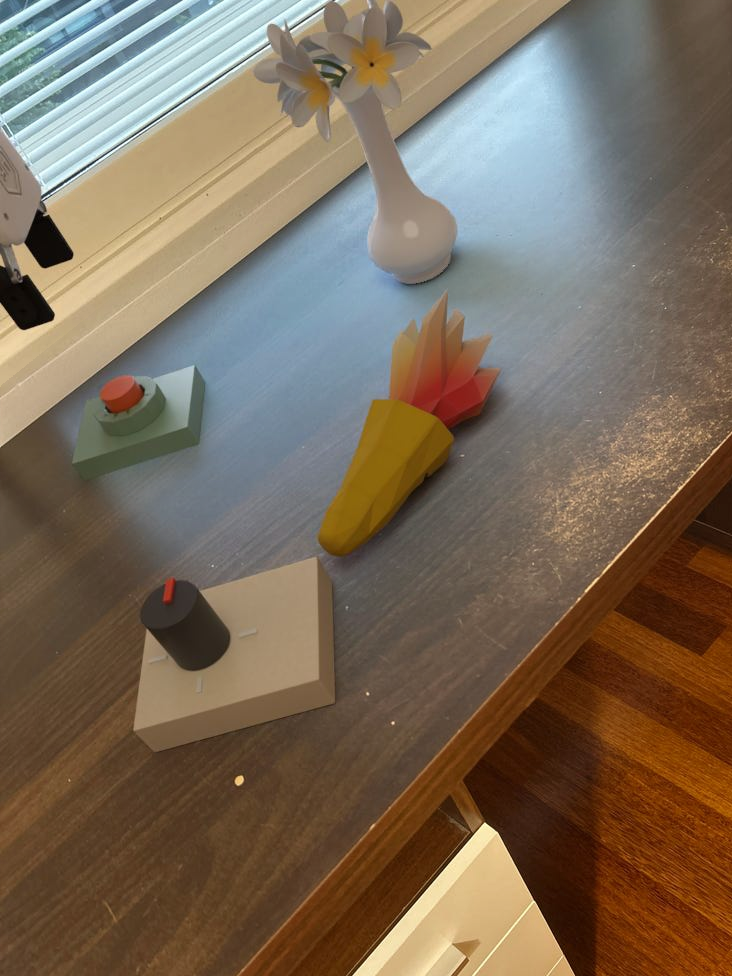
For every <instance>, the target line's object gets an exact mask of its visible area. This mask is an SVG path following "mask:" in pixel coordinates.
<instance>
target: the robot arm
mask: <svg viewBox="0 0 732 976" xmlns="http://www.w3.org/2000/svg"><path fill="white" fill-rule="evenodd" d="M23 244H24V245H25V246H26V247H27V250H28V251H29V252H30V253H31V255H32V256H33V258H34V260H35V261H36V262H37V263H38V266H39V267H40V268H42V269H44V270H45V269H49V268H51V267H55V266H58V265H61V264H63V263H67V262H69V261H72V260H73V258H74V255H75V254H74V251H73V249H72V248H71V247H70V244H69V243H68V241H67V240H66V238H65V237H64V235H63V233H62V232H61V230H60V229H59V227H58V226H57V224H56V223H55V222H54V220H53V218H52V217H51V215H50V214H48V208H47V206H46V203H45V202H44V201H43V200H42V187H41V184H40V183H39V181H38V178H36V176H35V174H34V173H33V172H32V170H31V168H30V167H29V166H28V164H27V163H26V161H25V159H24V158H23V157H22V155H21V154H20V152H19V151H18V150H17V148H16V147H15V145H14V144H13V142H12V141H11V140H10V138H9V137H8V136H7V134H6V132H5V131H4V130H3V128H2V127H1V126H0V256H1V259H2V262H3V265H4V266H3V265H1V264H0V305H1V306H2V307H3V309H4V310H5V311H6V313H7V314H8V315H9V317H10V318H11V319H12V321H13V322H14V324H15V325H16V327H17V328H18V329H19V330H21V331H27V330H30V329H34V328H36V327H39V326H41V325H45V324H48V323H52V322H53V321H54V320H55V316H56V313H55V311H54V310H53V308H52V307H51V306H50V304H49V303H48V302H47V300H46V298H45V297H44V295H43V294H42V293H41V292H40V290H39V288H38V286H37V285H36V284H35V283H34V281H33V280H32V278H31V277H30V276H29V274H25V275H23V274H22V272H21V269H20V266H19V262H18V260H17V257H16V254H15V252H14V248H13V246H20V245H23Z"/></svg>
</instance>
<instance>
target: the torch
mask: <svg viewBox="0 0 732 976" xmlns="http://www.w3.org/2000/svg"><path fill="white" fill-rule="evenodd" d="M448 301H449V288H446V289H445V291H444V292H443V293H442V294H441V296H440V297H439V298H438V300H437V301H436V302H435V303H434V304H433V305H432V307H431V308H430V309H429V311H427V312H426V314H425V315H424V316H423V319H422V322H421V325H420V328H419V329H420V330H419V329H418V326H417V322H416V319H415V317H412V319H411V320H410V322H409V323H408V325H407V326H406V328H405V330H404V331H403V327H402V328H400V330H399V332H398V334H397V336H396V338H395V339H394V341H393V343H392V345H391V346H392V347H391V363H390V376H389V377H390V379H389V391H388V393H389V395H388V399H387V398H385V399H383V398H382V399H379V398H376V399H375V398H374V399H372V400H371V403H370V406H369V409H368V412H367V415H366V418H365V421H364V425H363V428H362V431H361V434H360V437H359V441H358V444H357V447H356V449H355V451H354V454H353V456H352V459H351V462H350V463H349V466H348V468H347V471H346V474H345V476H344V478H343V480H342V483H341V485H340V487H339V489H338V491H337V492H336V495H335V496H334V497H333V499H332V501H331V502H330V504H329V505H328V507H327V508H326V511H325V514H324V516H323V519H322V522H321V524H320V527H319V531H318V533H317V541H318V543H319V545H320V546H321V548H322V549H323V550H324V551H325V552H326V553H328V555H330V556H334V557H340V558H341V557H346V556H348V555H349V554H351V553H352V552H354V551H355V550H357V549H358V548H361V547H362V546H363V545H365V544H366V543H367V542H369V541H370V540H371V539H372V538H373V537H374V536H375V535H377V534H378V533H379V532H380V531H381V530H382V529H384V527H386V526H387V525H388V524H389V523H390V522H391V520H392V519H393V518H394V516H395V515H396V513H397V512H398V511H399V510H400V508H401V507H402V505H403V504H404V503H405V501H406V500H407V499H408V497H409V496H410V495H411V493H412V492H414V491H415V490H416V488H418V487H419V486H420V485H421V484H423V483H424V480H425V477H427V478H429V477H430V476H432V474H434V473H435V472H436V471H438V469H440V468H441V467H442V466H443V465H444V464H445V463H446V462H447V461H448V458H449V456H450V453H451V450H452V447H453V445H454V442H455V436H454V435H453V434H452V432H451V431H450V429H452V428H453V427H455V426H457V425H458V424H460V423H461V422H464V421H465V420H468V419H470V418H473V417H474V418H475V417H476V416H479V415H480V414H481V412H482V410H483V408H484V406H485V405H486V404H485V403H486V402H487V400H488V397H489V395H490V394H491V392H492V389H493V387H494V385H495V383H496V381H497V379H498V377H499V374H500V372H501V370H502V369H503V367H502V366H498V367H497V366H496V367H482V368H481V367H480V366H479V365H480V364H481V363H482V360H483V357H484V356H485V354H486V352H487V349H488V347H489V345H490V343H491V341H492V339H493V337H494V332H493V331H492V332H489V333H486V334H482V335H479V336H476V337H473V338H470V339H465V340H463V338H464V337H463V336H464V329H465V328H464V327H465V321H466V320H465V318H466V315H465V314H464V313H463V312H461V311H460V310H458V309H457V308H454V310H453V312H452V314H451V316H450V318H449V319H448V304H449V303H448ZM447 321H448V322H447Z"/></svg>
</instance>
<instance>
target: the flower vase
mask: <svg viewBox="0 0 732 976" xmlns="http://www.w3.org/2000/svg"><path fill="white" fill-rule="evenodd" d="M366 2H367V6H368V8H366V9H364V10H362V11H360V12H359V13H356V14H354V15H352V17H350V18H349V19H348V16H347V14H346V12H345V10H344V8H343V6H341V4H340V3H338V2H336V1H333V0H331V1H329V2H327V3H326V4H325V7H324V8H323V23H324V26H325V29H326V31H319V32H318V31H316V32H314V33H312V34H310V35H304V36H303V37H302V38H300V39H299V40H298V42H297V43H296V42H295V41H294V38H293V36H292V34H291V31H290V28H289V25H288V23H287V20H286V18H284V21H283V22H284V30H283V29H282V28H281V27H280V26H278V25H277V24H276V23H269V24H268V25H267V26H266V36H267V39H268V42H269V44H270V47H271V49H272V50H273V51H274V53H275V54H276V55H278V57H269V58H266V59H262V60H261V61H259V62H257V63H256V64H255V65H254V67H253V69H252V70H253V71H252V72H253V76H254V77H255V79H256V80H257V81H259V82H261V83H264V84H271V85H272V84H273V85H274V84H278V87H277V88H278V89H277V95H276V97H277V102H278V103H279V102H281V108H280V114H279V115H280V116H281V117H282V115H283V113H285V114H286V115H287V116H289V117H290V118H291V123H292V124H293V125H294V127H295V128H297V129H299V128H303V127H305V126H306V125H307V123H309V121H310V120H311V119H312V118H313V116H314V115H315V123H316V124H315V125H316V128H317V130H318V131H317V132H318V133H319V135H320V137H321V138H322V140H324V141H325V142H326V143H329V141H330V140H331V133H332V132H331V120H330V106H332V105H333V104H334V103H335V101H336V100H335V99H338V100H339V102H340V104H341V105H342V107H343V109H344V111H345V112H346V114H347V116H348V118H349V119H350V121H351V123H352V125H353V127H354V130H355V132H356V134H357V137H358V140H359V143H360V145H361V148H362V151H363V154H364V157H365V159H366V162H367V165H368V169H369V172H370V176H371V178H372V182H373V186H374V187H373V188H374V191H375V211H374V212H375V213H374V215H373V216H374V217H373V219H372V220H371V223H370V225H369V227H368V232H367V236H366V244H367V245H366V246H367V254H368V257H369V258H370V260H371V261H372V263H373V265H374V266H375V267H377V268H379V269H380V270H382V271H383V272H384V273H387V274H389V275H393V277H394V278H395V280H396V281H398V282H400V283H401V284H406V285H417V284H422V283H425V282H428V281H430V280H432V279H435V278H436V277H438V276H439V275H441V274H442V273H443V272H444V271H445V270H446V269H447V268H448V266H449V265H450V263H451V259H452V254H451V252H452V251H453V249H454V247H455V244H456V241H457V238H458V232H459V227H458V223H457V219H456V218H455V216H454V214H453V213H452V211H451V210H450V209H449V207H447V206H446V204H445V203H443V202H442V201H440V200H438V199H436V198H434V197H432V196H430V195H428V194H426V193H424V192H423V191H422V190H421V189H420V187H419V186H417V184H416V183H415V182H414V180H413V179H412V178H411V176H410V173H409V172H408V170H407V168H406V166H405V164H404V162H403V159H402V157H401V154H400V152H399V149H398V147H397V145H396V141H395V140H394V139H395V138H394V137H393V134H392V131H391V128H390V126H389V123H388V120H387V117H386V114H385V110H384V106H385V107H386V108H388V109H389V110H397V109H399V108H401V105H402V99H403V97H402V91H401V87H400V85H399V83H398V81H397V79H396V77H395V76H394V75H393V73H397V72H401V71H403V70H404V71H405V69H408V68H410V67H412V66H413V65H414V64H415V63H416V62H417V61H418V60H419V58H420V57H421V58H425V56H424V54H423V53H422V52H421V51H420V50H422V51H431V50H432V49H433V48H432V47H431V44H430V43H429V42H428V41H426V40H425V39H424V38H422V37H421V36H419V35H418V34H415V33H413V32H408V31H403V32H401V30H402V28H403V23H404V21H403V20H404V19H403V15H402V13H401V11H400V9H399V7H398V5H397V4H395V2H393V1H392V0H386V1H385V2H384V5H383V9H381V8H380V6H379V3H378V2H377V1H376V0H366ZM400 32H401V33H400ZM399 33H400V34H399ZM316 65H320V70H318V68H317V67H316ZM344 65H347V66H349V67H351V69H350V70H348V71H347V69H346V68H344ZM336 71H338V72H340V73H341V75H339V74H337V73H335V72H336ZM326 79H330V81H327V80H326ZM448 264H449V265H448ZM446 267H447V268H446ZM445 268H446V269H445ZM444 269H445V270H444ZM443 270H444V271H443ZM441 272H442V273H441ZM440 273H441V274H440ZM437 275H438V276H437ZM429 279H430V280H429ZM427 280H428V281H427ZM424 281H425V282H424ZM421 282H422V283H421ZM416 283H417V284H416Z"/></svg>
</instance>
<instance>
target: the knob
mask: <svg viewBox="0 0 732 976" xmlns="http://www.w3.org/2000/svg"><path fill="white" fill-rule="evenodd" d="M200 591H201V590H200V589H199V588H198V587H197V586H196V585H195V584H194V583H193V582H191V581H189V580H185V579H177V580H176V579H175V577H170V578H168V579H166V581H165V583H164V584H162V585H160V586H159V587H157V588H156V589H154V590H153V591H152V592H150V594H149V595H148V596H147V597H146V599H145V600H144V602H143V604H142V605H141V607H140V612H139V618H140V621H141V624H142V625H143V626H144V627H145V628H146V630H147V629H148V630H149V632H150V633H151V634H152V635H153V636H154V637H155V639H156V640H157V641H158V642H159V643H160V645H161V646H162V647H163V648H164V649H165V650H166V652H167V653H168V654H169V655H170V656H171V657H172V659H173V660H174V661H175V662H176V663H177V664H178V666H179V667H181V668H183V669H185V670H189V671H195V670H201V669H204V668H206V667H208V666H210V665H212V664H213V663H215V662H216V661H217V660H218V659H220V658H221V657H222V655H223V654H224V653H225V651H226V650H227V648H228V646H229V643H230V632H229V630H228V628H227V627H226V626H225V624H224V623H223V622H222V620H221V619H220V618H219V616H218V615H217V614H216V612H215V611H214V610H213V608H212V607H211V606H210V604H209V603H208V602H207V600H206V599H205V598H204V596H203V595H202V594H201V592H200Z"/></svg>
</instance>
